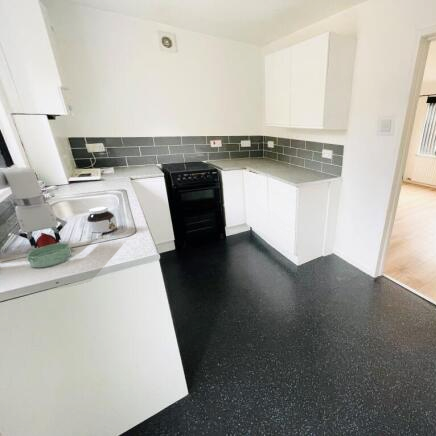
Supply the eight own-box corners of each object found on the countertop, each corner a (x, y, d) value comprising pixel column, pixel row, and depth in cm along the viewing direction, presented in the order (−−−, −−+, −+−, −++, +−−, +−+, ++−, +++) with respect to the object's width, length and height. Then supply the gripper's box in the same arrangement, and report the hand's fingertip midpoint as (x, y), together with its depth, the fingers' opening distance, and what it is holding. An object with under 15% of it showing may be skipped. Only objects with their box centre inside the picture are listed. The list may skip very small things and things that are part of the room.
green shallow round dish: (23, 270, 85) (17, 259, 83) (44, 255, 95) (40, 245, 94) (61, 266, 87) (57, 255, 86) (78, 251, 98) (74, 241, 96)
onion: (58, 246, 103) (51, 228, 100) (60, 250, 99) (54, 232, 96) (38, 251, 98) (31, 233, 96) (41, 255, 95) (33, 236, 92)
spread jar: (100, 237, 111) (92, 212, 107) (82, 234, 114) (75, 210, 110) (124, 227, 122) (118, 205, 118) (107, 225, 125) (101, 203, 121)
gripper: (60, 195, 100) (74, 235, 106) (-3, 204, 88) (16, 248, 95) (62, 198, 95) (76, 240, 101) (-5, 208, 83) (15, 255, 90)
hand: (47, 244), depth 98 cm, fingers closed on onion, 5 cm apart
